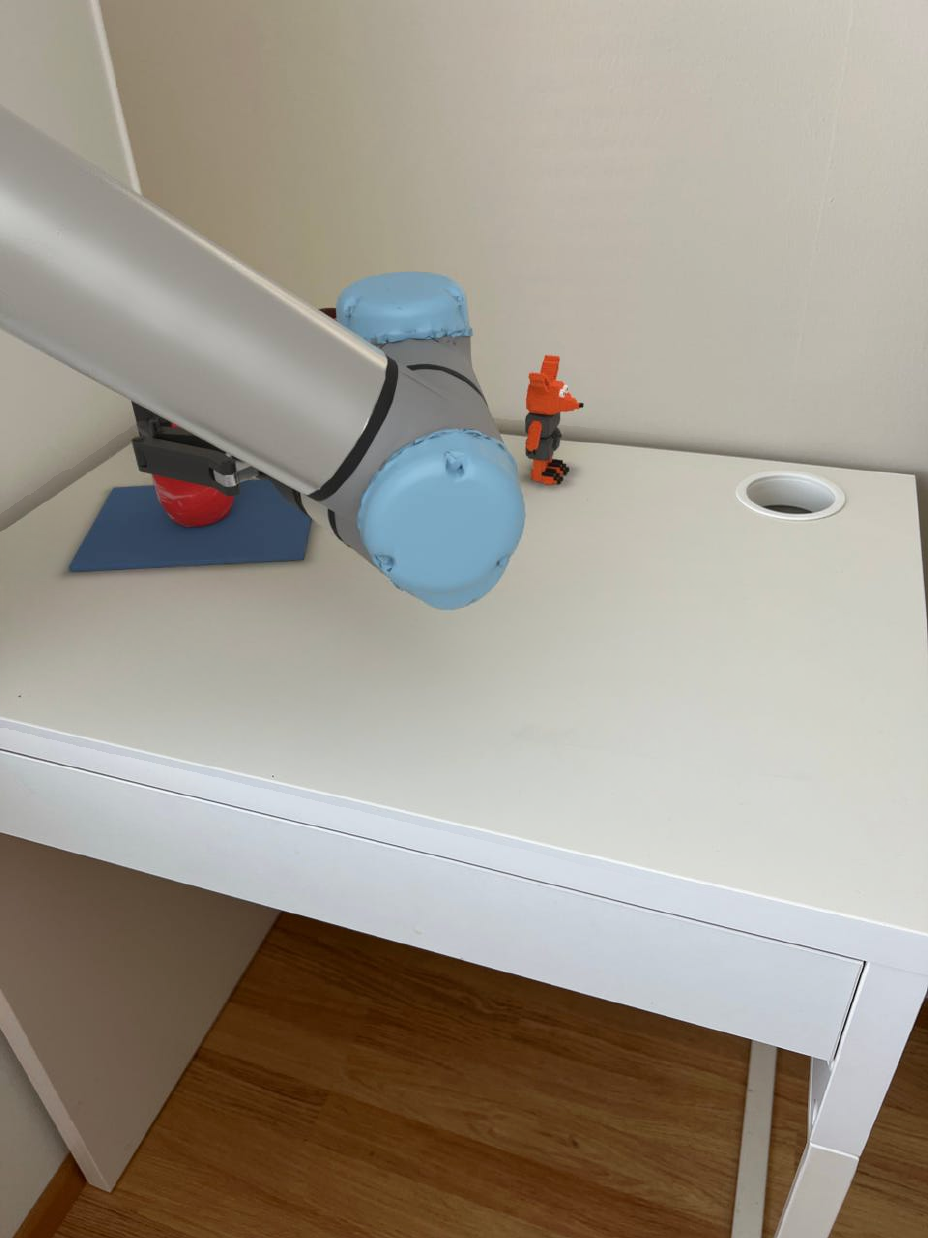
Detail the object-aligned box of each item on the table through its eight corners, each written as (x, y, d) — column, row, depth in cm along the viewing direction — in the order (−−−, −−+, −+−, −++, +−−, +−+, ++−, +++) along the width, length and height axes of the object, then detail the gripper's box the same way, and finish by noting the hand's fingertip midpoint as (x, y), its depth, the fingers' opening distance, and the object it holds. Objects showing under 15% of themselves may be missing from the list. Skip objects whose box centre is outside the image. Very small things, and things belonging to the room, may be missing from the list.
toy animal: (570, 497, 101) (571, 383, 94) (519, 489, 103) (516, 378, 96) (592, 462, 107) (595, 353, 100) (543, 456, 109) (542, 349, 102)
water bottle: (287, 501, 102) (243, 249, 88) (252, 541, 96) (199, 276, 81) (182, 491, 105) (123, 245, 91) (141, 529, 99) (71, 272, 84)
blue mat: (69, 572, 94) (68, 567, 94) (114, 491, 107) (113, 487, 107) (303, 559, 94) (302, 555, 93) (320, 480, 107) (319, 476, 106)
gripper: (189, 583, 67) (83, 474, 82) (484, 470, 79) (345, 392, 93) (165, 483, 63) (57, 387, 77) (481, 379, 75) (336, 312, 89)
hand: (214, 389), depth 85 cm, fingers open, 13 cm apart
